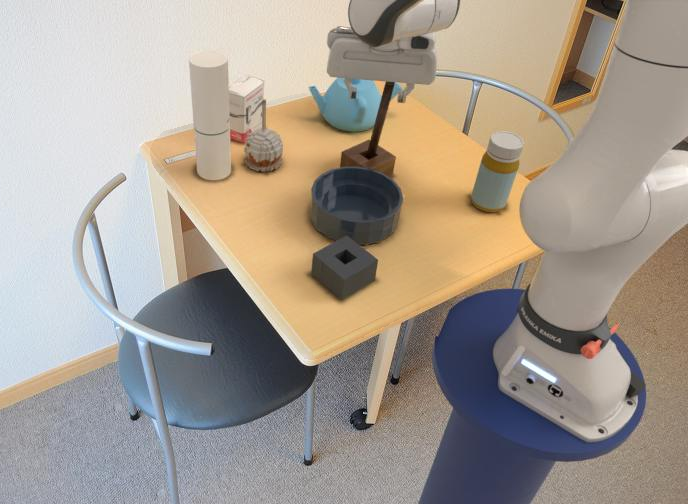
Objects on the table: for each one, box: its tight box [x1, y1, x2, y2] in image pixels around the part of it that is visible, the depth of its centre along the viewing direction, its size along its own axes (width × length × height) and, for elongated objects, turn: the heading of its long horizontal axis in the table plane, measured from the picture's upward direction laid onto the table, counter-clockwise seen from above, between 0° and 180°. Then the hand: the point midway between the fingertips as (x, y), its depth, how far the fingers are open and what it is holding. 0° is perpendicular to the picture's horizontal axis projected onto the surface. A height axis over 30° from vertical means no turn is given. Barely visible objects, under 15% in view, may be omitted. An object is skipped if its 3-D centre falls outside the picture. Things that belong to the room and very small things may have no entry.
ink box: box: [229, 74, 265, 144], centre depth 145 cm, size 9×5×12 cm, turn 150°
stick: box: [366, 81, 395, 160], centre depth 131 cm, size 2×2×22 cm
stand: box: [310, 236, 379, 301], centre depth 114 cm, size 8×8×5 cm
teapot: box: [308, 77, 404, 133], centre depth 151 cm, size 15×17×11 cm
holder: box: [339, 139, 397, 178], centre depth 137 cm, size 8×8×5 cm
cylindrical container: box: [188, 48, 232, 181], centre depth 129 cm, size 7×7×25 cm
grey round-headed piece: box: [244, 98, 284, 173], centre depth 135 cm, size 8×8×15 cm
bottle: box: [470, 130, 525, 214], centre depth 128 cm, size 7×7×15 cm
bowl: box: [309, 166, 404, 245], centre depth 126 cm, size 17×17×6 cm
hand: (376, 99), depth 127 cm, fingers open, 8 cm apart
